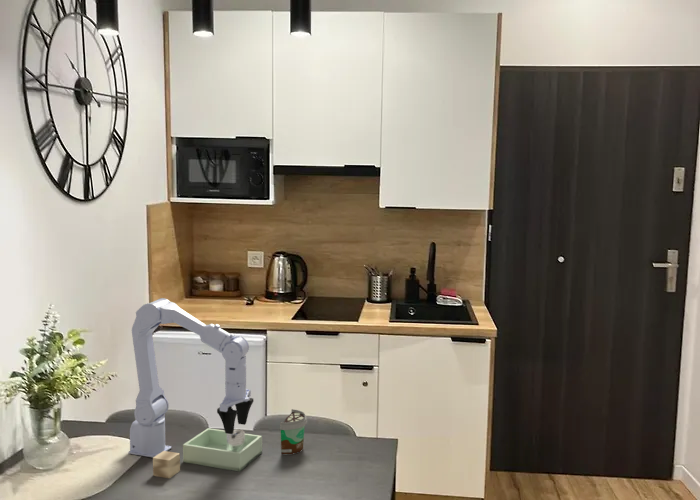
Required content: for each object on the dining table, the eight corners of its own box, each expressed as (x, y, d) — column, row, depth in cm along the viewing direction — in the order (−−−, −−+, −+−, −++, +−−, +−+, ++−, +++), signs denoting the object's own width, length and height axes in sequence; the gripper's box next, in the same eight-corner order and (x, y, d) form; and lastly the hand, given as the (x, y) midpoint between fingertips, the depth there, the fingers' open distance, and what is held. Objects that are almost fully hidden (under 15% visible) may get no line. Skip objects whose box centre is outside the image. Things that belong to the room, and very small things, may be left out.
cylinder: (223, 458, 194) (223, 434, 193) (231, 452, 198) (231, 428, 198) (240, 460, 192) (240, 436, 192) (247, 454, 197) (247, 430, 196)
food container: (300, 458, 196) (300, 424, 195) (279, 456, 198) (279, 422, 197) (311, 442, 208) (312, 410, 207) (291, 440, 210) (292, 408, 209)
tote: (183, 462, 193) (182, 444, 193) (208, 444, 206) (208, 428, 205) (239, 471, 187) (239, 453, 187) (262, 452, 200) (262, 435, 200)
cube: (153, 475, 184) (152, 457, 184) (164, 468, 189) (163, 450, 188) (169, 478, 183) (169, 460, 182) (180, 471, 187) (179, 453, 187)
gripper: (236, 390, 185) (236, 439, 186) (260, 375, 199) (260, 421, 200) (212, 387, 187) (212, 436, 189) (238, 373, 201) (238, 418, 202)
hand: (235, 428), depth 194 cm, fingers open, 7 cm apart
